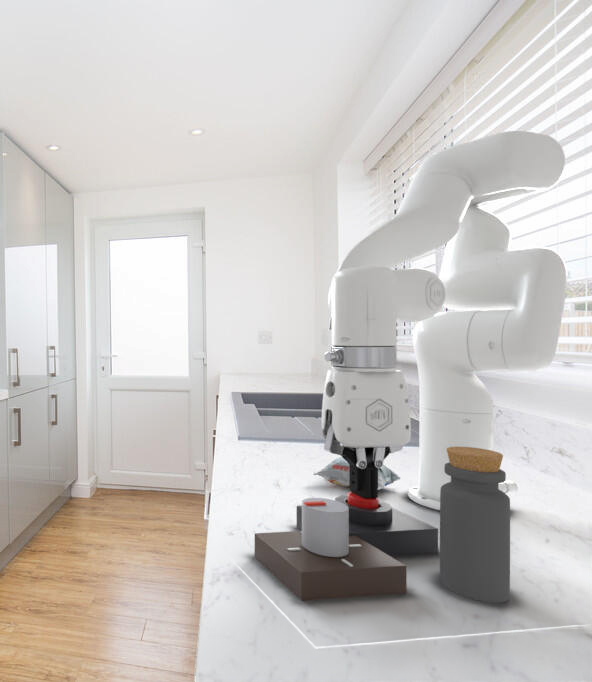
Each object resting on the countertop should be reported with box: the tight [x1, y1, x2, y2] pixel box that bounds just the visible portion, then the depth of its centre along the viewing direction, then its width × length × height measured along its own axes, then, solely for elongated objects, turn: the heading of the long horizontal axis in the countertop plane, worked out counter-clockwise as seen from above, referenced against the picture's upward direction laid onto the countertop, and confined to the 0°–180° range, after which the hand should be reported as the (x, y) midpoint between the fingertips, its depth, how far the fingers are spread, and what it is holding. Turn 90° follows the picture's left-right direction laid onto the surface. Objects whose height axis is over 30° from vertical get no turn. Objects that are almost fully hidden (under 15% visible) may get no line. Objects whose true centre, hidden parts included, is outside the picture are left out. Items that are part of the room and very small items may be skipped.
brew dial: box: [301, 497, 349, 557], centre depth 55 cm, size 5×5×5 cm
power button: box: [347, 491, 380, 509], centre depth 64 cm, size 4×4×2 cm
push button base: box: [296, 494, 439, 557], centre depth 64 cm, size 13×10×5 cm
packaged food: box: [312, 456, 401, 491], centre depth 87 cm, size 9×12×5 cm
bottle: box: [439, 447, 511, 604], centre depth 51 cm, size 6×6×15 cm
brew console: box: [254, 530, 408, 602], centre depth 55 cm, size 12×10×3 cm
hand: (363, 495), depth 64 cm, fingers closed
